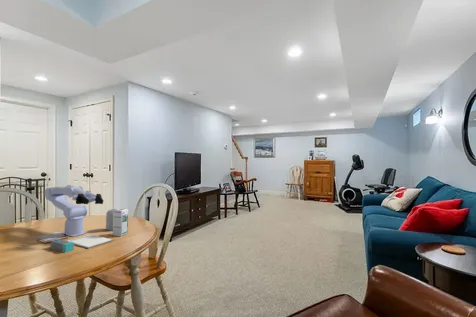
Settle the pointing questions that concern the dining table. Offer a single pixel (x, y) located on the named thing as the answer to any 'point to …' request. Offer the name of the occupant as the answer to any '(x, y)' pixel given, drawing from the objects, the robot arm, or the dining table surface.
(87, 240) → the notepad
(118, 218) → the syrup box
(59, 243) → the grey teal rectangular block
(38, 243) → the dining table surface
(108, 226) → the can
